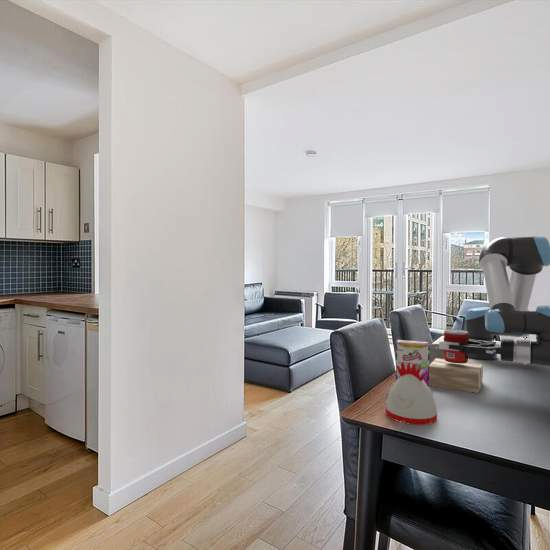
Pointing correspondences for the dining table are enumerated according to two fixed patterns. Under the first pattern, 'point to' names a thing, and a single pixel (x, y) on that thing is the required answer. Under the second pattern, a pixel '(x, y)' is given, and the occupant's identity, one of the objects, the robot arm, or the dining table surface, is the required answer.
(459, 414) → the dining table surface
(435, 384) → the oak box
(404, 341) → the candy bar box
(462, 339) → the canned food
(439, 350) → the coffee mug
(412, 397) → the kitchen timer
